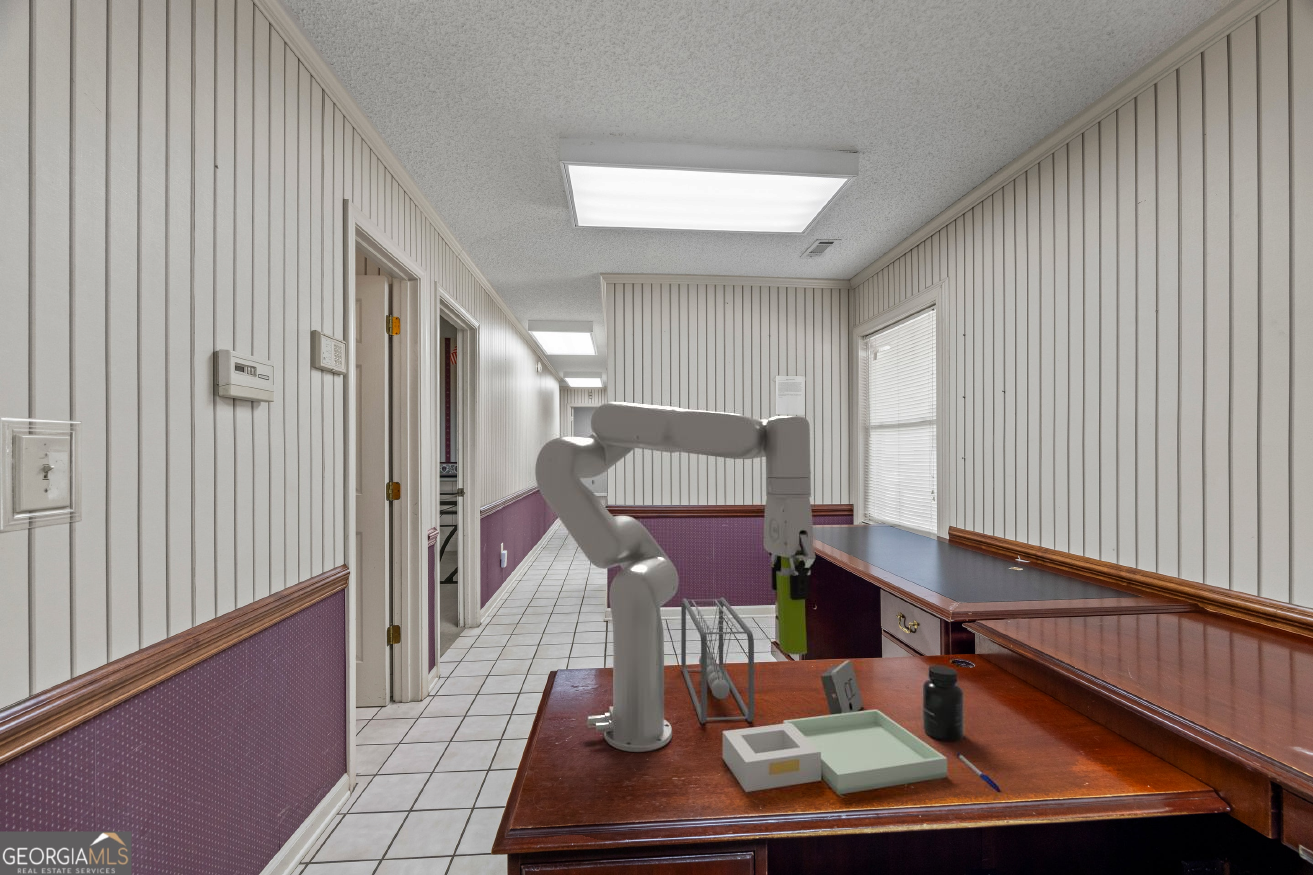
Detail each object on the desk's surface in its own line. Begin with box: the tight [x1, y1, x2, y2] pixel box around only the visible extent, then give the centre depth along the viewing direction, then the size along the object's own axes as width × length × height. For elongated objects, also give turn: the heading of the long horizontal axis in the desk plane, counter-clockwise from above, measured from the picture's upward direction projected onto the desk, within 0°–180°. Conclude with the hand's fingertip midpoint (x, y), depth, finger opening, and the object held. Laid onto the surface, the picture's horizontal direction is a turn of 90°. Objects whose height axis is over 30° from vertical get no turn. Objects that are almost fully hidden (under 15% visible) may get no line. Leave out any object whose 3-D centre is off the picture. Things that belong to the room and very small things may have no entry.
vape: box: [776, 552, 808, 656], centre depth 93 cm, size 4×6×20 cm, turn 2°
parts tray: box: [782, 709, 948, 796], centre depth 95 cm, size 20×18×3 cm
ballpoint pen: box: [956, 753, 1001, 792], centre depth 90 cm, size 10×1×1 cm, turn 5°
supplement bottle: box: [922, 664, 965, 743], centre depth 103 cm, size 7×7×12 cm
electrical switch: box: [820, 659, 864, 715], centre depth 113 cm, size 9×5×9 cm, turn 141°
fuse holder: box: [722, 723, 822, 793], centre depth 91 cm, size 13×10×4 cm
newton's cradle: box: [680, 597, 755, 724], centre depth 121 cm, size 30×10×18 cm, turn 5°
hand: (790, 593), depth 93 cm, fingers closed on vape, 6 cm apart
